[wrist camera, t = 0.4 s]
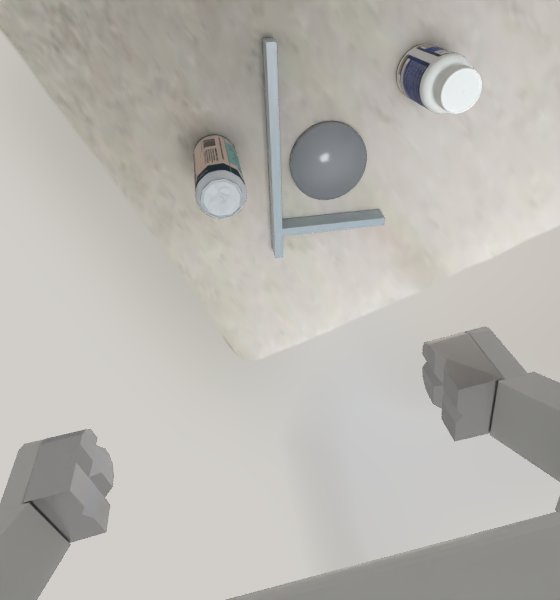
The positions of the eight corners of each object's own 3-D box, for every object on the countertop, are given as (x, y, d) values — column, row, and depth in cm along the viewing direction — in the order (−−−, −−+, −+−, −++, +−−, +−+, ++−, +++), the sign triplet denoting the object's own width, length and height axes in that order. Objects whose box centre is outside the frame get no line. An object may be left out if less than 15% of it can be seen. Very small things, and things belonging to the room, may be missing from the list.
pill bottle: (410, 108, 52) (449, 133, 45) (386, 68, 50) (423, 89, 42) (451, 73, 51) (498, 94, 43) (429, 31, 48) (476, 45, 40)
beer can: (186, 164, 52) (187, 211, 42) (204, 125, 50) (208, 165, 40) (225, 182, 54) (234, 230, 44) (243, 145, 52) (257, 188, 42)
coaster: (289, 124, 51) (290, 127, 50) (367, 118, 52) (369, 120, 51) (290, 199, 57) (291, 203, 56) (361, 192, 58) (363, 196, 57)
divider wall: (262, 38, 46) (266, 42, 44) (397, 30, 47) (406, 33, 45) (272, 248, 60) (275, 258, 58) (375, 236, 62) (382, 245, 60)
